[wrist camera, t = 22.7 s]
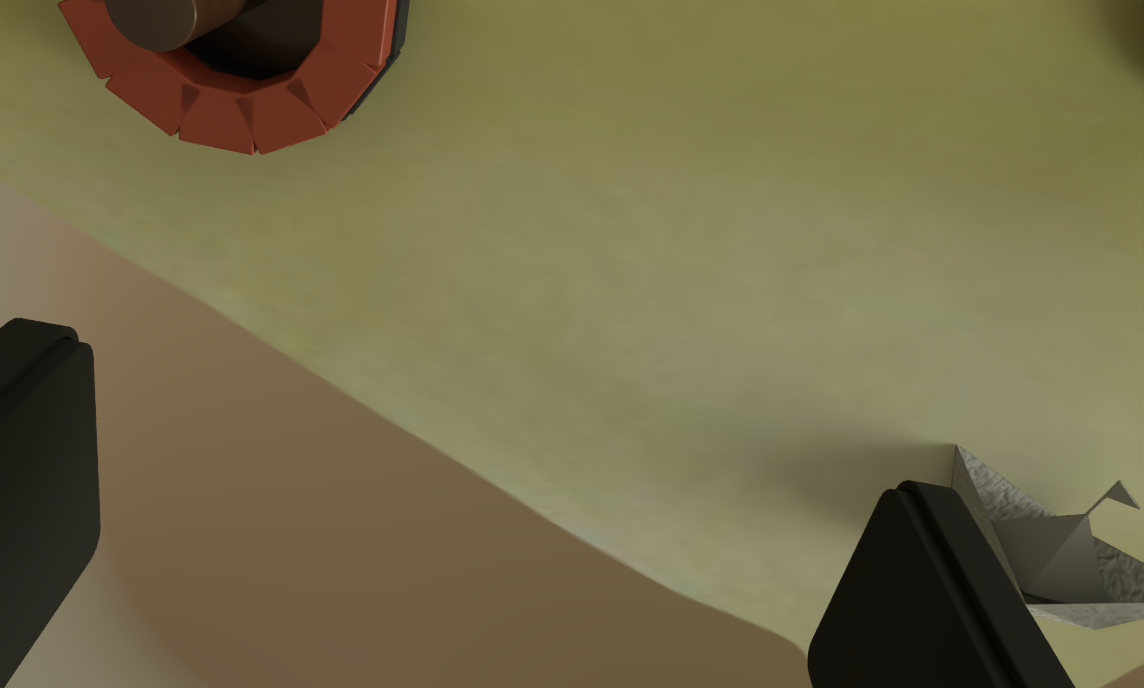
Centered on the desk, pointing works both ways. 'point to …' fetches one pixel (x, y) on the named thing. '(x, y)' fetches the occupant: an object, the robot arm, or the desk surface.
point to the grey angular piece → (1052, 551)
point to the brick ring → (242, 79)
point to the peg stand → (224, 27)
